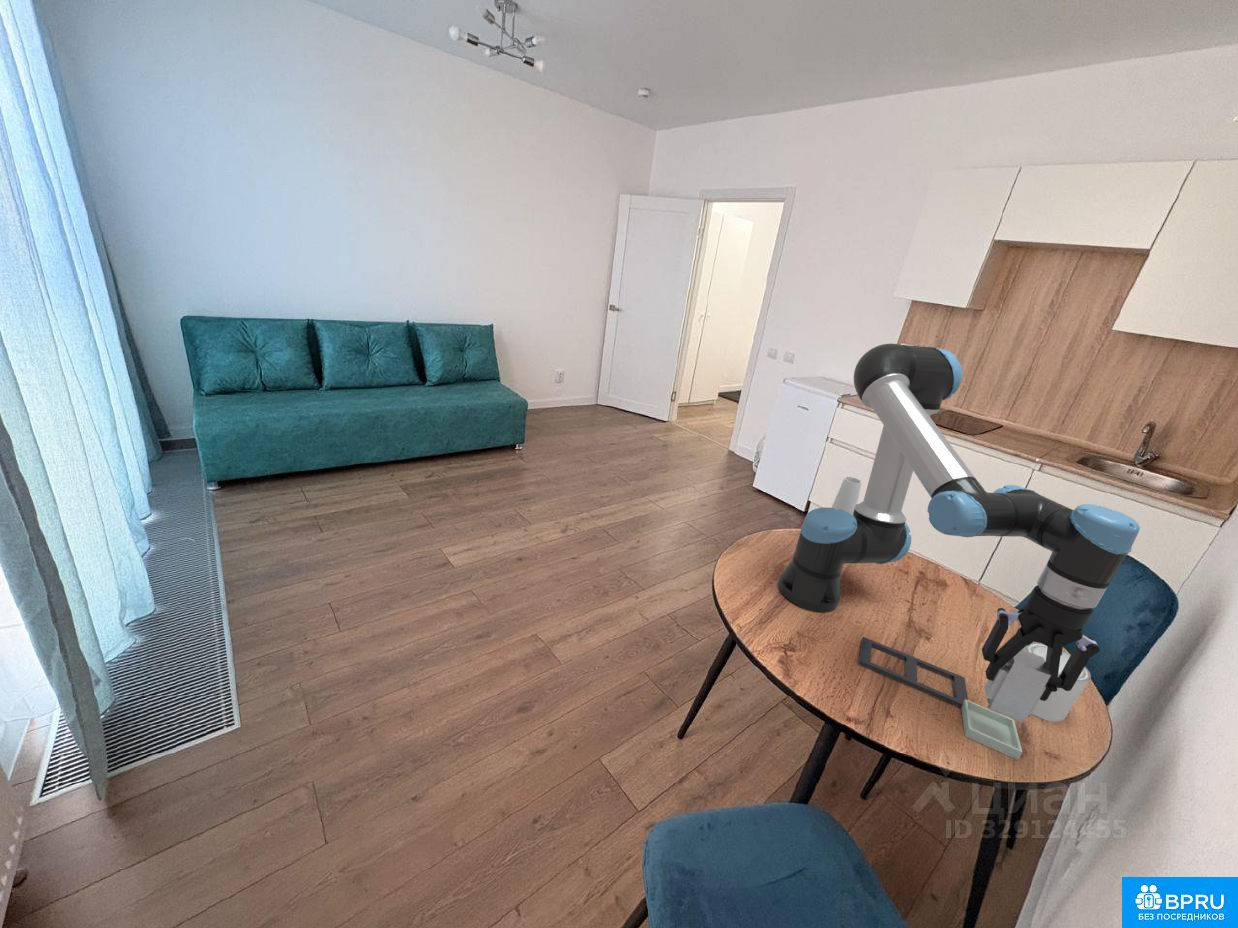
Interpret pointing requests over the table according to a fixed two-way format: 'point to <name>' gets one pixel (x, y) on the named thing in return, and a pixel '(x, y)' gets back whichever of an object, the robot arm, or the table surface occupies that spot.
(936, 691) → the double window frame
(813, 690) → the table surface
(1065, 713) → the mug
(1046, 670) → the grey rectangular block
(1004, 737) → the tray
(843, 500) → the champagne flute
